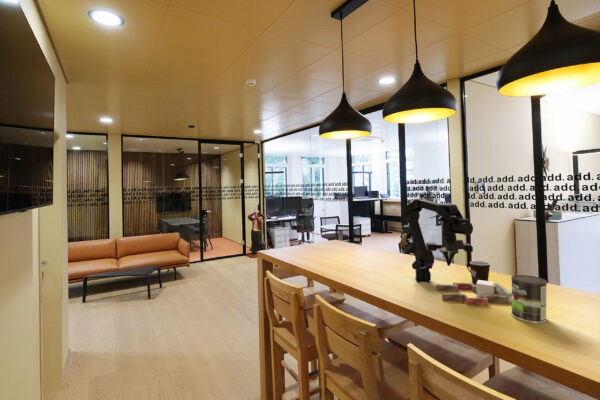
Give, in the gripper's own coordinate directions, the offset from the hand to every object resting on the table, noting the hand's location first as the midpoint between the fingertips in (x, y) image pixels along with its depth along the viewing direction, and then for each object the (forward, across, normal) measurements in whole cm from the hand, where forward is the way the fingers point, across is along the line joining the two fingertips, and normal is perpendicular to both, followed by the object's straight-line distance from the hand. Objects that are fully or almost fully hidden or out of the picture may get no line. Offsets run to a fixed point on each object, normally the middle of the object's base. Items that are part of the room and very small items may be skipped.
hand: (448, 265), depth 141 cm
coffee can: (+11, +21, -26) cm, 36 cm away
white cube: (+12, +14, -6) cm, 19 cm away
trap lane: (+11, +8, -6) cm, 15 cm away
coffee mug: (+12, +17, +14) cm, 25 cm away
